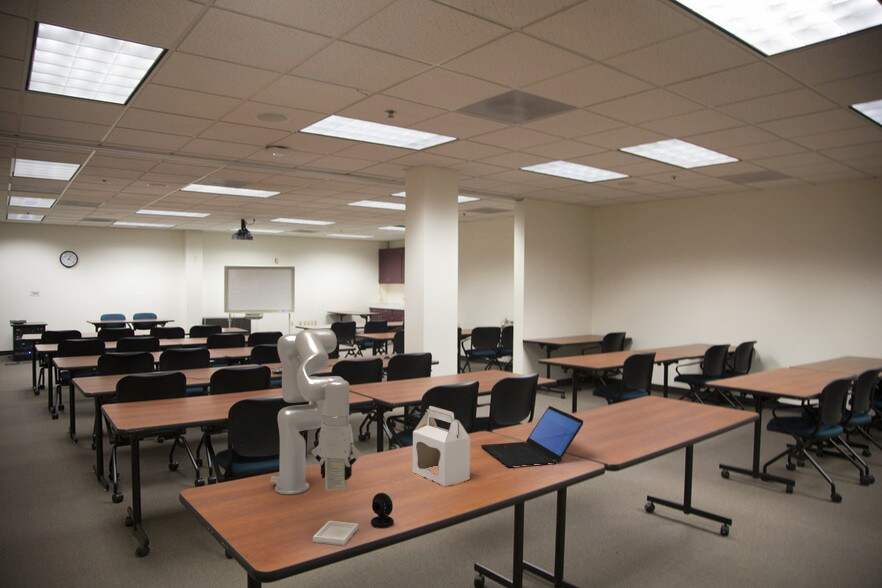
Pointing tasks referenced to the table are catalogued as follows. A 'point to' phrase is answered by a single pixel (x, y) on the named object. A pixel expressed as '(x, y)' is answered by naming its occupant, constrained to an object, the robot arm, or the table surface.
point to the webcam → (382, 510)
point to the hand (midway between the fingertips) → (336, 477)
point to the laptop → (540, 441)
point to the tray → (335, 533)
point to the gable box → (441, 448)
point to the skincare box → (335, 474)
